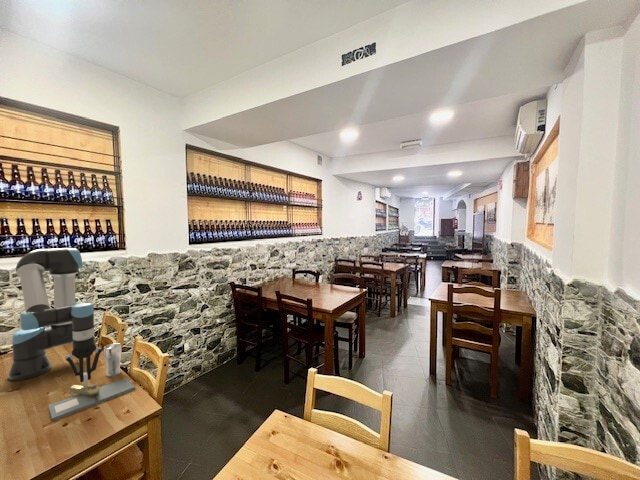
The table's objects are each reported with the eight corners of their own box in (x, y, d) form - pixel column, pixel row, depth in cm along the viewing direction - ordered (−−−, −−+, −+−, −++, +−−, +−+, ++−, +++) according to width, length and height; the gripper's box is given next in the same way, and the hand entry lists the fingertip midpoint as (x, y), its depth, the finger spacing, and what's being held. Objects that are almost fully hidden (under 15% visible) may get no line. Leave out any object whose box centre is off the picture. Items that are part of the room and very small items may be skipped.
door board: (48, 407, 114) (48, 404, 114) (127, 379, 135) (127, 377, 135) (52, 421, 106) (51, 418, 106) (134, 389, 128) (134, 386, 128)
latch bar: (93, 397, 119) (93, 389, 119) (67, 393, 121) (67, 385, 121) (101, 392, 122) (101, 384, 122) (76, 388, 125) (76, 381, 124)
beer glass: (112, 378, 137) (111, 349, 136) (101, 376, 138) (100, 347, 137) (125, 371, 144) (124, 343, 143) (114, 369, 145) (113, 342, 144)
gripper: (65, 344, 116) (67, 397, 117) (103, 335, 125) (105, 384, 127) (63, 339, 121) (65, 390, 122) (100, 331, 130) (101, 378, 132)
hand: (85, 387), depth 124 cm, fingers closed
